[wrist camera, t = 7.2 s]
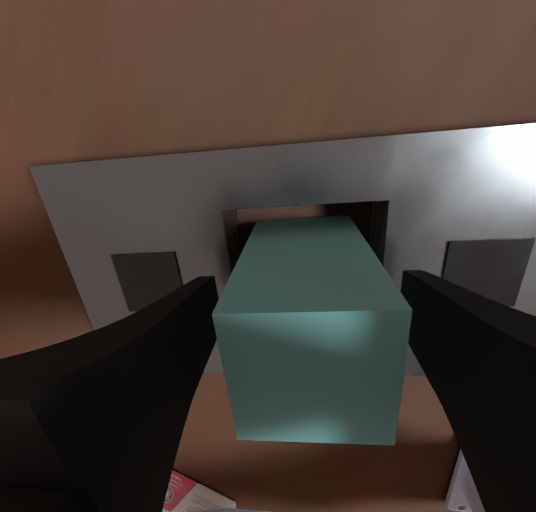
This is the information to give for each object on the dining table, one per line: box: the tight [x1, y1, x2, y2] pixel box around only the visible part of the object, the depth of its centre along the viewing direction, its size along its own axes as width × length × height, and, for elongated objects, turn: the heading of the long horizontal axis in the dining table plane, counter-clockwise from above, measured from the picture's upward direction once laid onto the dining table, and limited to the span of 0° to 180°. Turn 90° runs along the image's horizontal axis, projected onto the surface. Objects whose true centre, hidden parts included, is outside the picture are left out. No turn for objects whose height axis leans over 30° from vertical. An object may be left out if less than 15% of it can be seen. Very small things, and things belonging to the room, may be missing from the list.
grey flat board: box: [29, 122, 536, 375], centre depth 13 cm, size 22×11×3 cm, turn 95°
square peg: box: [212, 215, 412, 446], centre depth 11 cm, size 4×4×8 cm
